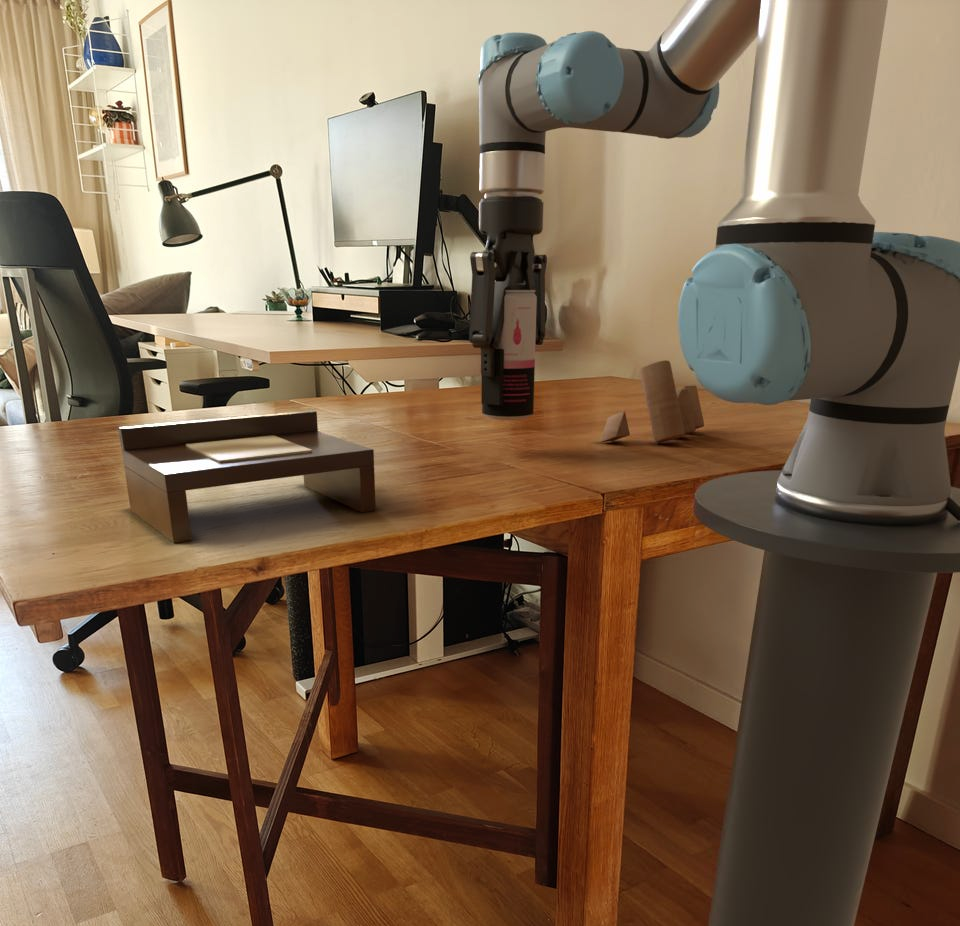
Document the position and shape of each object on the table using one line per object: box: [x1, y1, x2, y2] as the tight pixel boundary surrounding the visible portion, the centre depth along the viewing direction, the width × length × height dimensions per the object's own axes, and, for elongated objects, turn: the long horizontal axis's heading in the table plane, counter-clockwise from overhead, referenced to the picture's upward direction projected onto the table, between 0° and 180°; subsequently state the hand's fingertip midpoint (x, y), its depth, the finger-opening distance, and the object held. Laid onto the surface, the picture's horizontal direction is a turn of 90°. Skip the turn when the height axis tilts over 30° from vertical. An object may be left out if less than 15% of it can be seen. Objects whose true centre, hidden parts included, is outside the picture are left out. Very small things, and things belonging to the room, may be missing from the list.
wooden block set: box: [599, 360, 705, 444], centre depth 121 cm, size 18×9×10 cm, turn 131°
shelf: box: [117, 409, 377, 544], centre depth 83 cm, size 13×20×8 cm, turn 126°
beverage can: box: [481, 290, 537, 421], centre depth 107 cm, size 7×7×15 cm
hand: (507, 400), depth 109 cm, fingers closed on beverage can, 6 cm apart
